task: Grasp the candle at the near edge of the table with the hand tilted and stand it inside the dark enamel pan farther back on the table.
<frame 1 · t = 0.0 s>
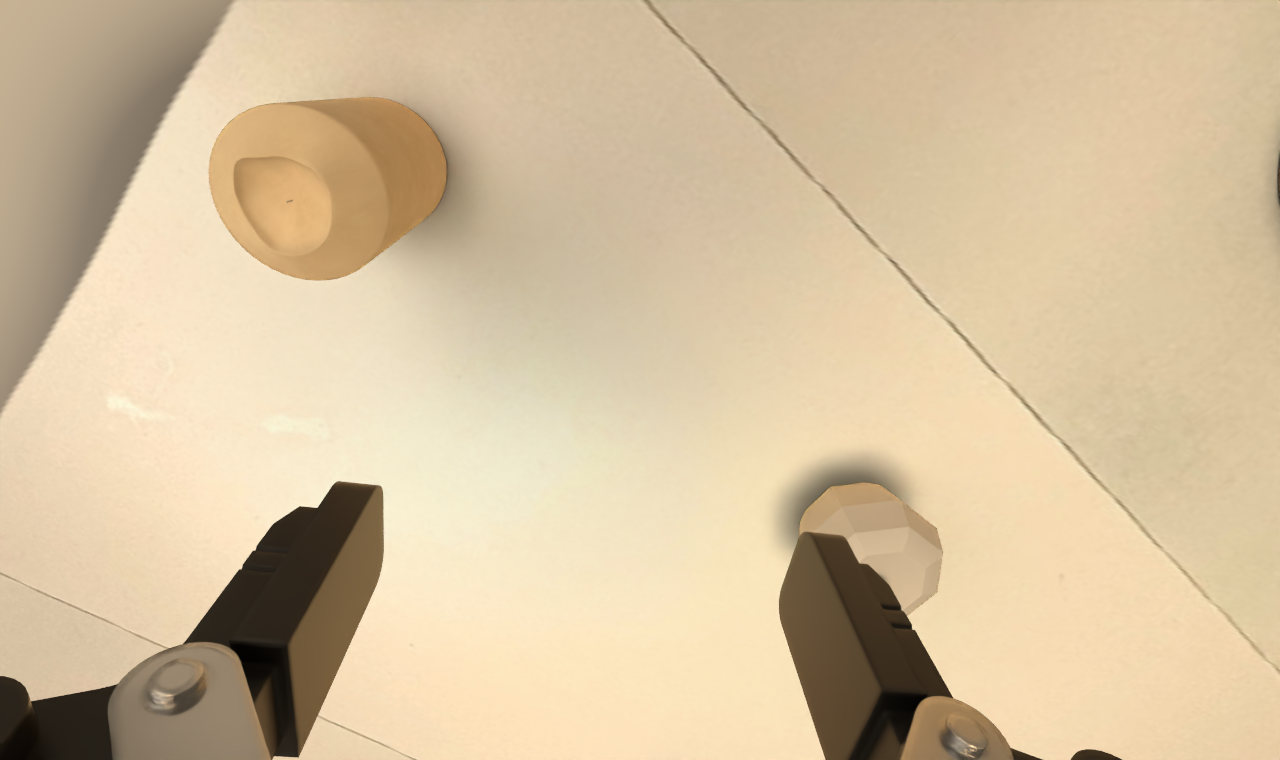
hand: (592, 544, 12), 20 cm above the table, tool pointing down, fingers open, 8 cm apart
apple: (839, 509, 37), on the table
candle: (386, 164, 28), on the table
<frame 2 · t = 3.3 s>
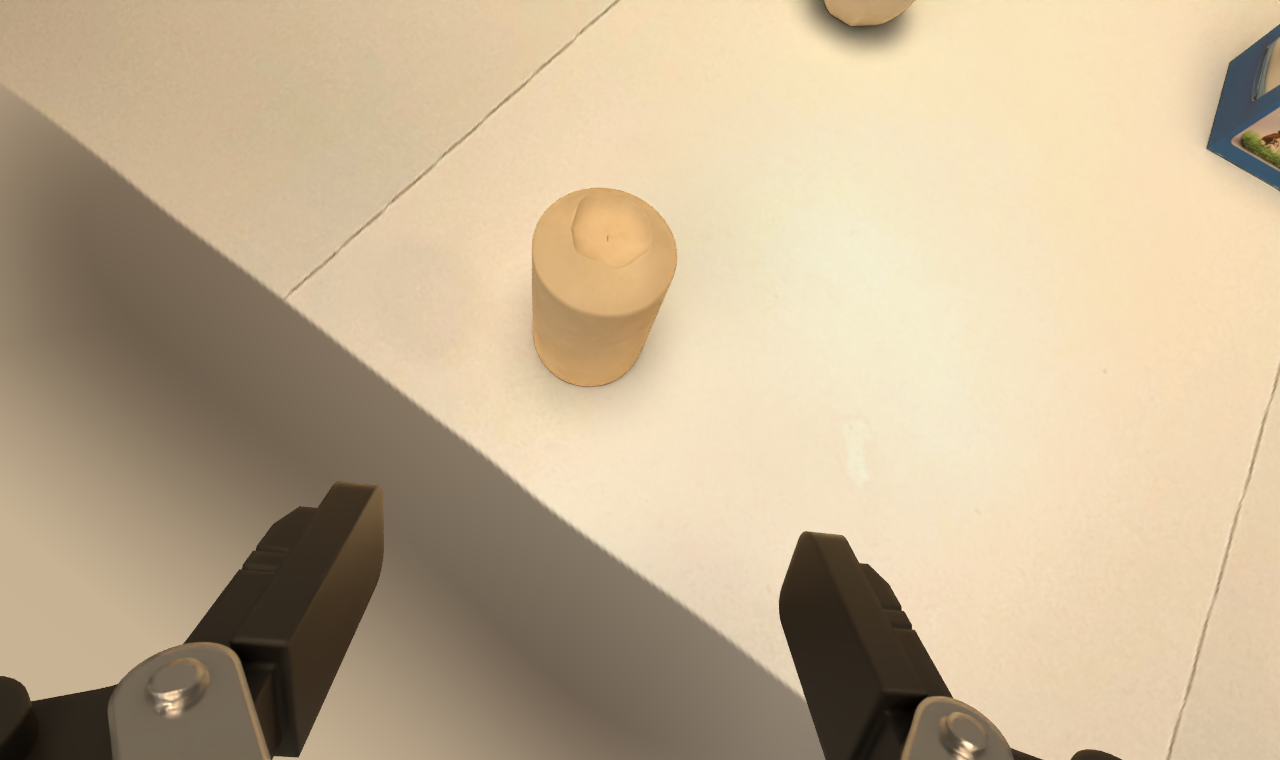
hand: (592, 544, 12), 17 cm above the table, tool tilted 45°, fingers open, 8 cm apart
milk carton: (1253, 127, 45), on the table
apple: (849, 9, 42), on the table
candle: (587, 337, 32), on the table
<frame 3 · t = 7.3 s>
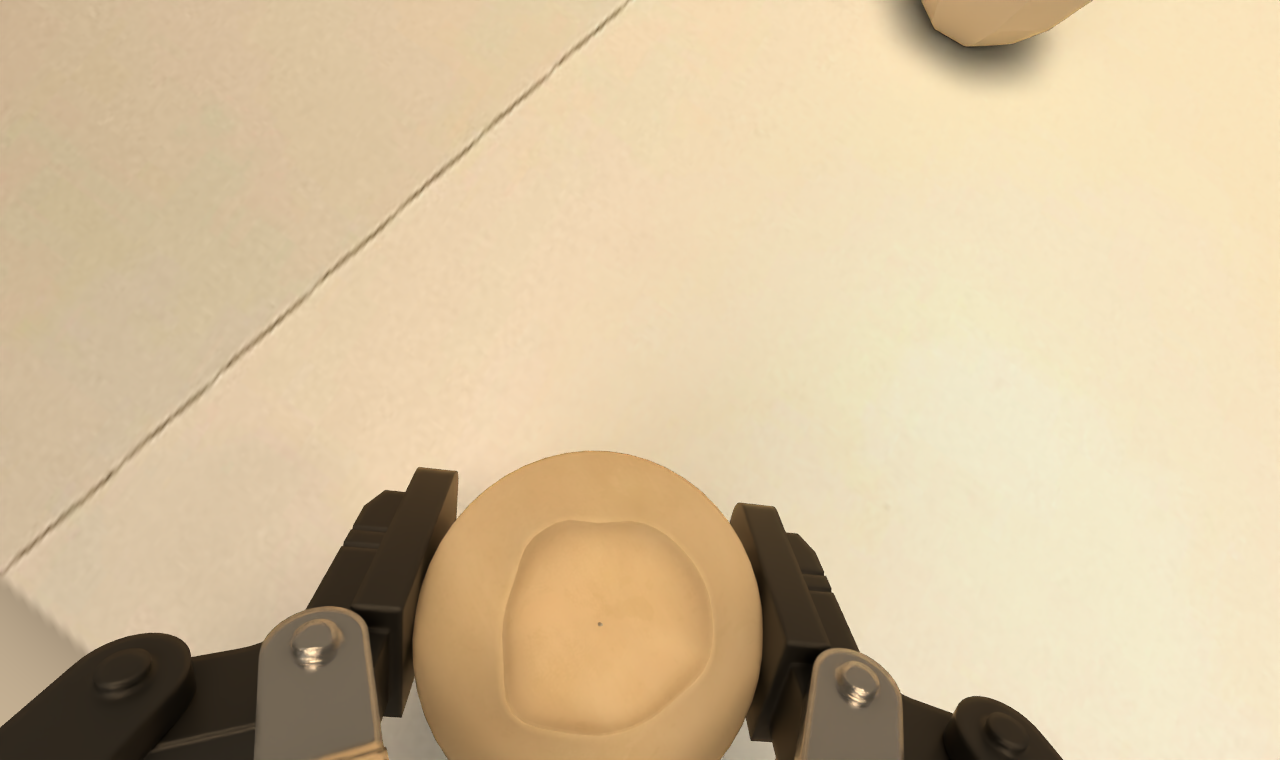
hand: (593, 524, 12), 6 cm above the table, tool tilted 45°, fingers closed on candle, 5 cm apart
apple: (959, 21, 29), on the table
candle: (568, 610, 18), on the table, touching gripper
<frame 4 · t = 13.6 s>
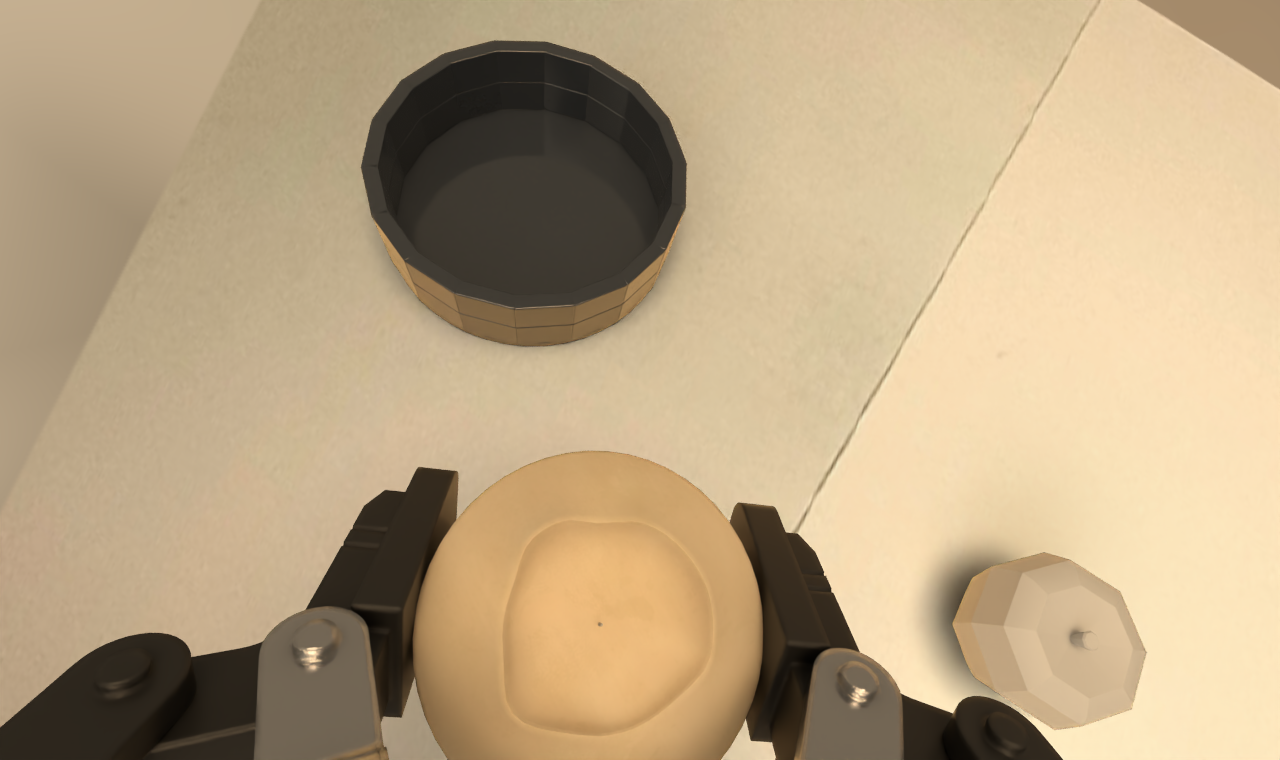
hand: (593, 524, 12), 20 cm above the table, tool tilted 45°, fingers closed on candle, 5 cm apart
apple: (988, 631, 34), on the table
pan: (532, 217, 37), on the table
candle: (568, 611, 18), point 14 cm above the table, touching gripper
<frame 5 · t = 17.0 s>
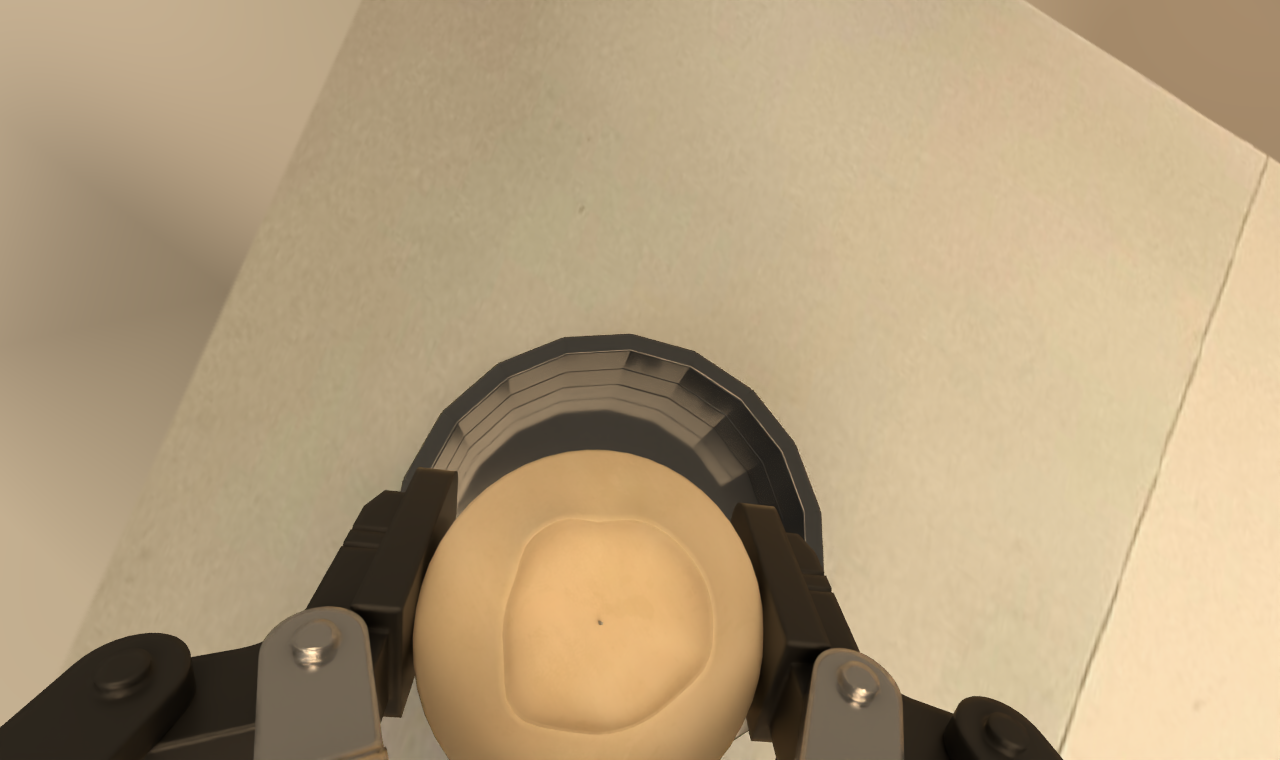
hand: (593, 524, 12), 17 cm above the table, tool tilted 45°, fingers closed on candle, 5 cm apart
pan: (605, 543, 29), on the table
candle: (568, 610, 18), point 10 cm above the table, touching gripper
when the fingers open (7 cm above the table, at t = 20.1 s): candle stays where it is, resting on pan.
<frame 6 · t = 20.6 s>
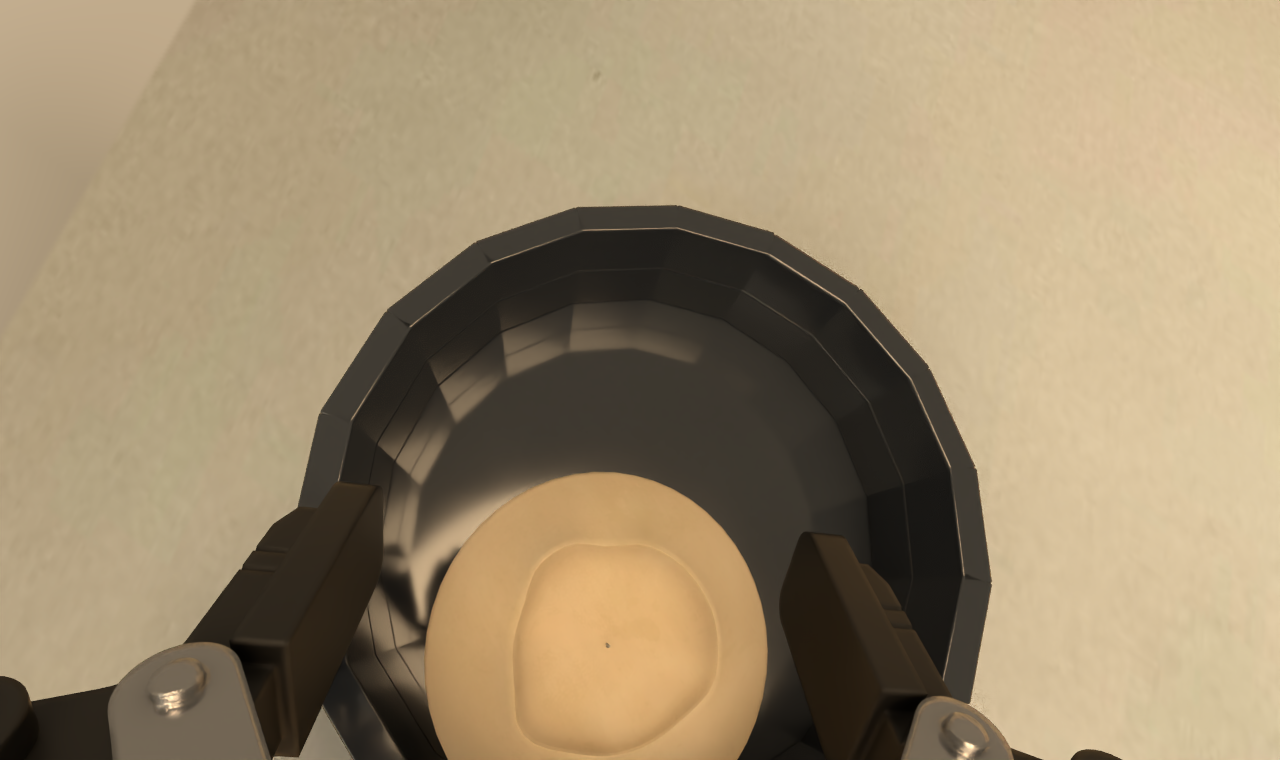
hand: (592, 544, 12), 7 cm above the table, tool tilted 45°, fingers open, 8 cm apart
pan: (637, 523, 20), on the table
candle: (574, 621, 18), resting on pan
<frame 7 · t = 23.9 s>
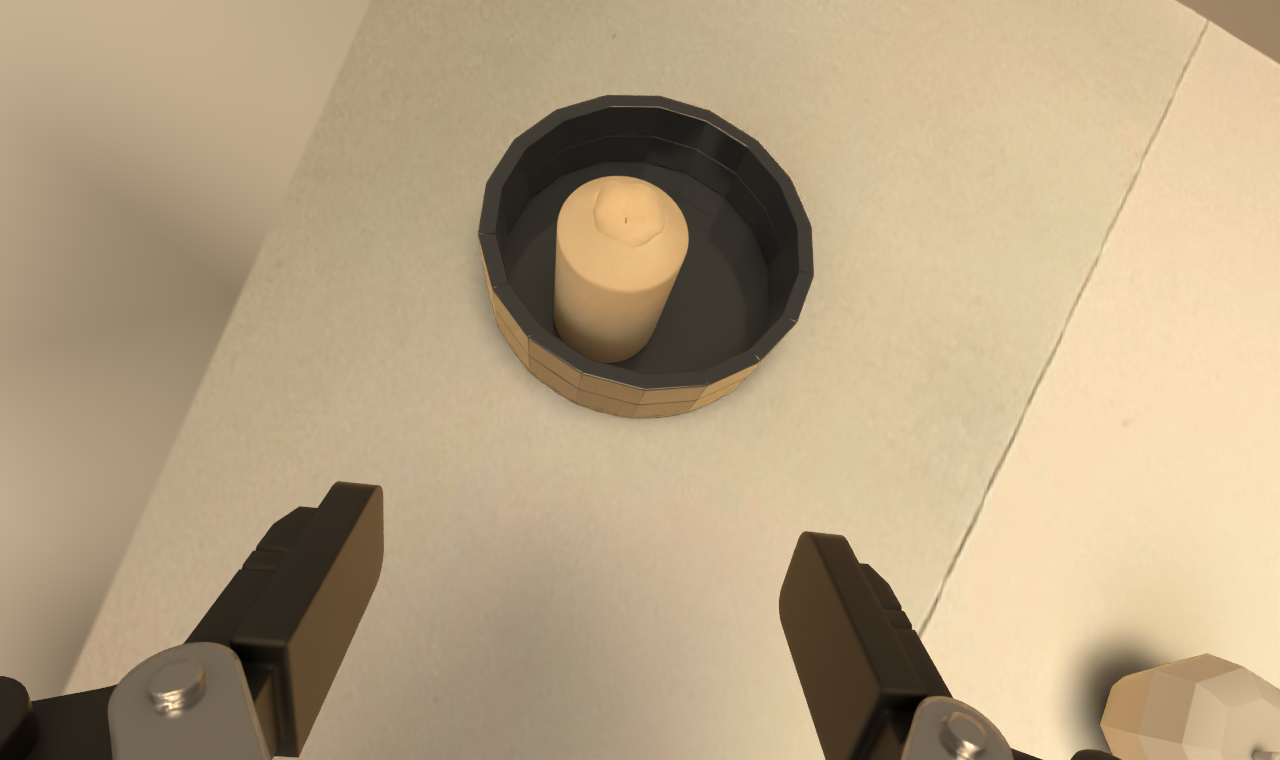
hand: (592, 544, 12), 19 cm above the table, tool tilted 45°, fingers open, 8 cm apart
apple: (1133, 729, 31), on the table
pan: (638, 277, 35), on the table
candle: (604, 319, 34), resting on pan
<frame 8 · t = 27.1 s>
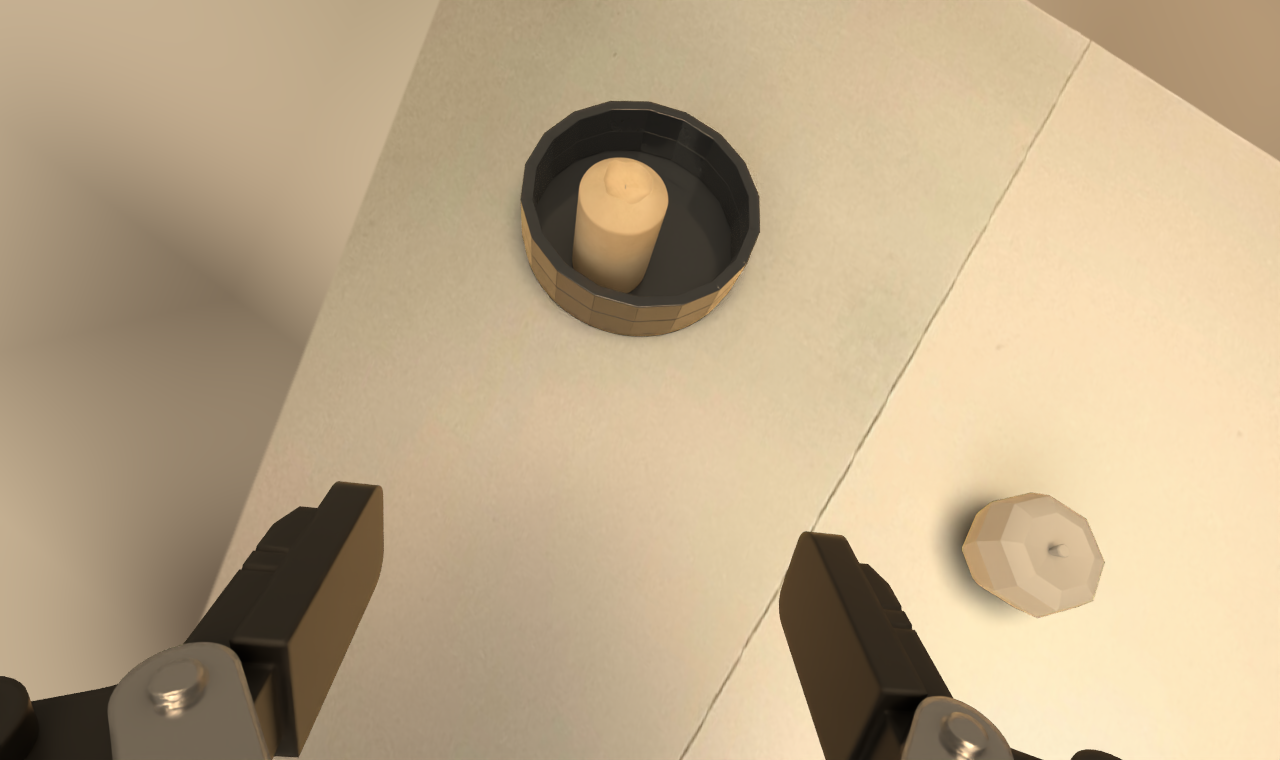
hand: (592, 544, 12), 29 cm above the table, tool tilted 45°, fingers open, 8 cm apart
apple: (988, 557, 44), on the table
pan: (633, 236, 48), on the table
candle: (608, 265, 46), resting on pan
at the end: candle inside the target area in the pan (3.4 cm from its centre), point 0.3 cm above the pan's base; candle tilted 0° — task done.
